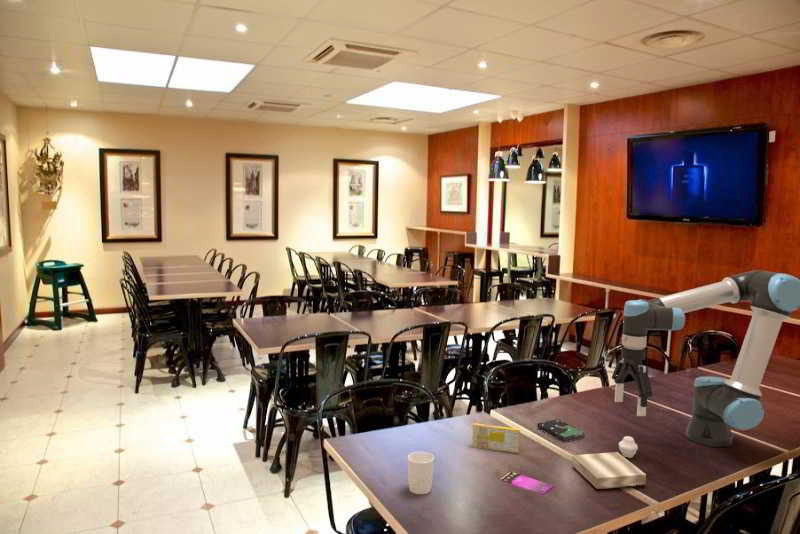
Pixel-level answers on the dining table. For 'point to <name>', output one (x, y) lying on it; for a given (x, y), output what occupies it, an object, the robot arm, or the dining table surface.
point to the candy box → (496, 438)
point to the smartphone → (526, 482)
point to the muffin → (628, 447)
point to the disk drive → (561, 430)
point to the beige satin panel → (608, 470)
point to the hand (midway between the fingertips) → (629, 408)
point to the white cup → (420, 472)
